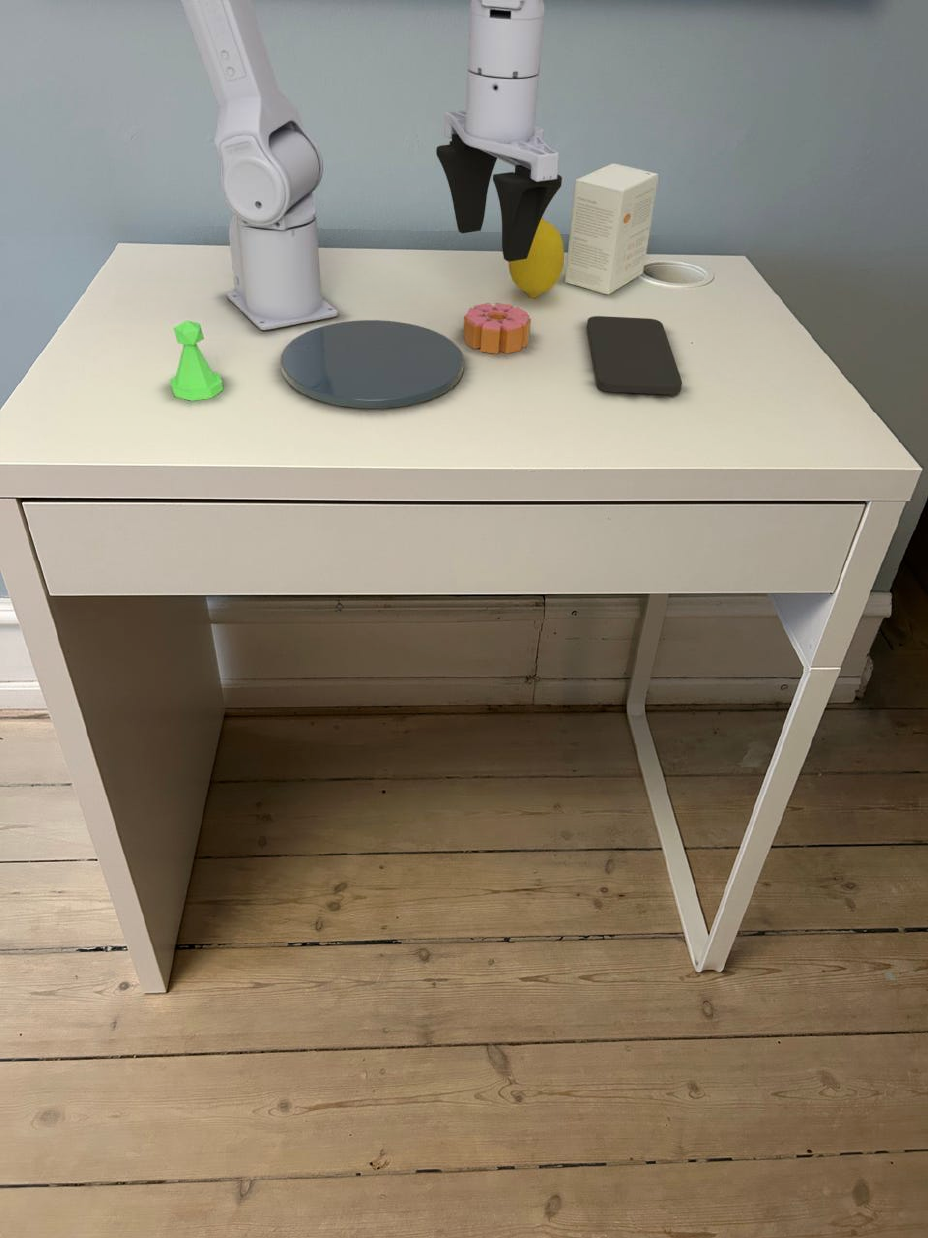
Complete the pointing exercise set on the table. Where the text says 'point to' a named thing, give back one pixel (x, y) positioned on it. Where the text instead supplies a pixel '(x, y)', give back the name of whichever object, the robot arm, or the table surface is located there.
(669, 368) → the phone
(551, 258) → the lemon
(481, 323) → the donut
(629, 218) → the small box
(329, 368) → the plate
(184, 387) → the game piece
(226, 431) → the table surface
